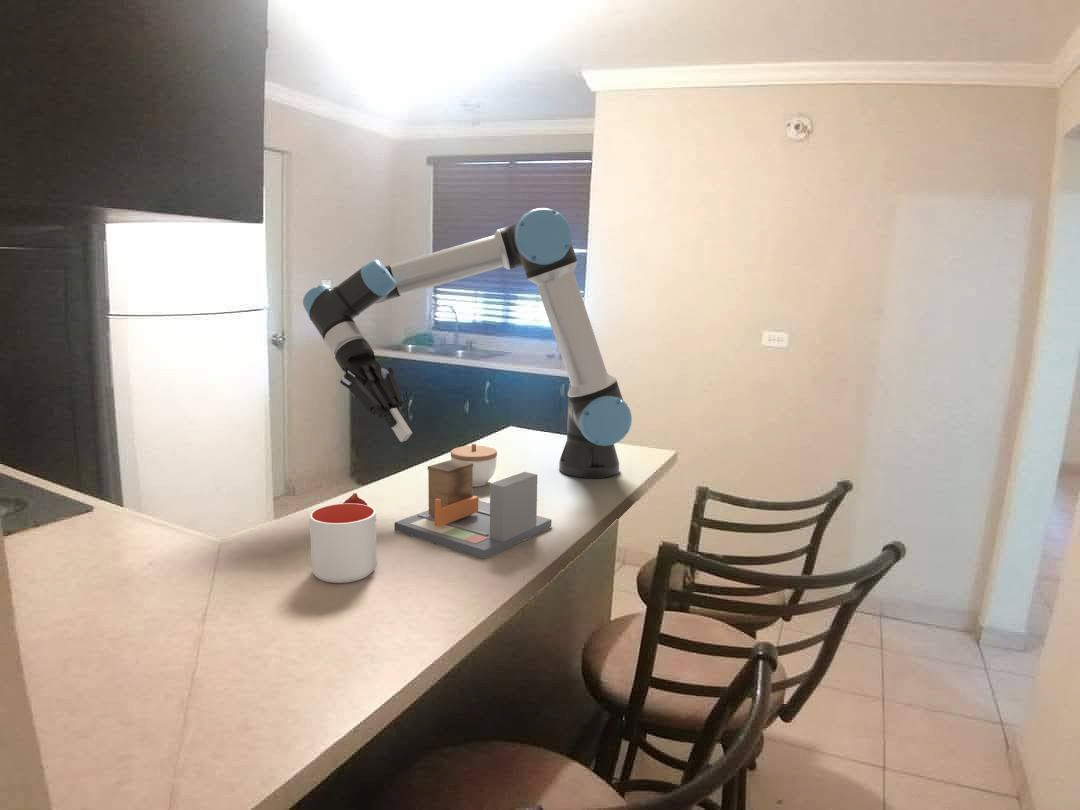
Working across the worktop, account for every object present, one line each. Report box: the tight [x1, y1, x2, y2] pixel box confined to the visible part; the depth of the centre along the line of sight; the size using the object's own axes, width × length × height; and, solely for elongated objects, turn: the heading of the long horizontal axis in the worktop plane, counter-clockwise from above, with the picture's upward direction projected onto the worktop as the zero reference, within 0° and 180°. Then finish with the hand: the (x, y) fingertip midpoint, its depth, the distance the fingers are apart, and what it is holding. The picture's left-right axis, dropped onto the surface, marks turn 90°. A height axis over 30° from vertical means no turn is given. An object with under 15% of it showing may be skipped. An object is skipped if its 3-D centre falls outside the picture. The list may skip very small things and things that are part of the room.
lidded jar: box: [450, 443, 498, 488], centre depth 160 cm, size 11×11×9 cm
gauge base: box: [393, 471, 552, 560], centre depth 130 cm, size 20×22×12 cm
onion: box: [342, 492, 369, 506], centre depth 126 cm, size 6×6×8 cm
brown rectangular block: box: [427, 459, 473, 516], centre depth 133 cm, size 7×5×10 cm
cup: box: [309, 503, 378, 584], centre depth 109 cm, size 10×10×10 cm
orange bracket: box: [435, 495, 479, 527], centre depth 129 cm, size 11×1×5 cm, turn 145°
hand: (406, 437), depth 139 cm, fingers closed
